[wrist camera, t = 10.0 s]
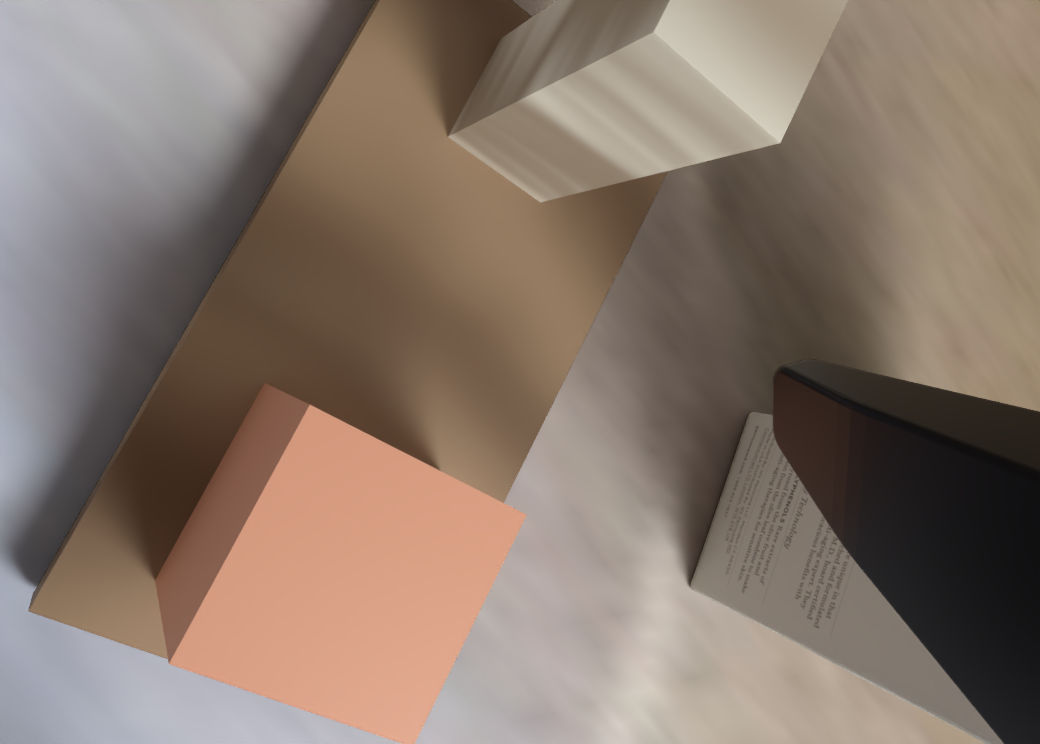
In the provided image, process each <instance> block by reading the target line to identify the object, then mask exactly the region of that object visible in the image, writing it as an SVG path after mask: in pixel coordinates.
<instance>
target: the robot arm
mask: <svg viewBox="0 0 1040 744" xmlns="http://www.w3.org/2000/svg"><path fill="white" fill-rule="evenodd" d="M773 433H774V437H775V440H776V442H777V445H778V447H779V448H780V450H781V452H782V453H783V455H784V456H785V458H786V459H787V461H788V463H789V464H790V466H791V467H792V469H793V470H794V472H795V473H796V475H797V477H798V478H799V480H800V481H801V483H802V484H803V486H804V487H805V489H806V491H807V492H808V494H809V495H810V497H811V498H812V500H813V501H814V503H815V505H816V506H817V508H818V509H819V511H820V512H821V514H822V515H823V517H824V519H825V520H826V522H827V523H828V525H829V526H830V528H831V529H832V531H833V532H834V534H835V535H836V537H837V538H838V540H839V541H840V542H841V544H842V545H843V547H844V548H845V549H846V550H847V552H848V553H849V554H850V556H851V557H852V558H853V560H854V561H855V562H856V563H857V565H858V566H859V567H860V568H861V569H862V571H863V572H864V573H865V574H866V576H867V577H868V578H869V579H870V580H871V582H872V583H873V584H874V585H875V587H876V588H877V589H878V590H879V592H880V593H881V594H882V595H883V596H884V598H885V599H886V600H887V601H888V603H889V604H890V605H891V606H892V607H893V609H894V610H895V611H896V612H897V614H898V615H899V616H900V617H901V619H902V620H903V621H904V622H905V623H906V625H907V626H908V627H909V628H910V630H911V631H912V632H913V633H914V634H915V636H916V637H917V638H918V639H919V641H920V642H921V643H922V644H923V646H924V647H925V648H926V649H927V650H928V652H929V653H930V654H931V655H932V657H933V658H934V659H935V660H936V661H937V663H938V664H939V665H940V666H941V668H942V669H943V670H944V671H945V673H946V674H947V675H948V676H949V677H950V679H951V680H952V681H953V682H954V684H955V685H956V686H957V687H958V688H959V690H960V691H961V692H962V693H963V695H964V696H965V697H966V698H967V700H968V701H969V702H970V703H971V704H972V706H973V707H974V708H975V709H976V711H977V712H978V713H979V714H980V715H981V717H982V718H983V719H984V720H985V722H986V723H987V724H988V725H989V727H990V728H991V729H992V730H993V731H994V733H995V734H996V735H997V736H998V738H999V739H1000V740H1001V741H1002V742H1003V744H1040V412H1039V411H1034V410H1030V409H1026V408H1021V407H1017V406H1013V405H1009V404H1004V403H1000V402H996V401H991V400H987V399H983V398H978V397H974V396H970V395H965V394H961V393H957V392H952V391H948V390H944V389H940V388H935V387H931V386H927V385H922V384H918V383H914V382H909V381H905V380H901V379H896V378H892V377H888V376H883V375H879V374H875V373H871V372H866V371H862V370H858V369H853V368H849V367H845V366H840V365H836V364H832V363H827V362H823V361H819V360H814V359H805V360H801V361H797V362H794V363H790V364H787V365H783V366H780V367H779V368H778V369H777V370H776V372H775V374H774V378H773Z"/></svg>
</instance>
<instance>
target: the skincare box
mask: <svg viewBox="0 0 1040 744" xmlns="http://www.w3.org/2000/svg"><path fill="white" fill-rule="evenodd" d="M691 589H692V590H694V591H695V592H697V593H699V594H701V595H703V596H705V597H707V598H709V599H711V600H713V601H715V602H717V603H719V604H721V605H723V606H725V607H727V608H729V609H731V610H733V611H735V612H737V613H739V614H741V615H743V616H745V617H747V618H749V619H751V620H753V621H754V622H756V623H758V624H760V625H762V626H764V627H766V628H768V629H770V630H772V631H774V632H776V633H777V634H779V635H781V636H783V637H785V638H787V639H789V640H791V641H793V642H794V643H796V644H798V645H800V646H802V647H804V648H806V649H808V650H809V651H811V652H813V653H815V654H817V655H819V656H821V657H823V658H825V659H826V660H828V661H830V662H832V663H834V664H836V665H838V666H840V667H841V668H843V669H845V670H847V671H849V672H851V673H853V674H855V675H856V676H858V677H860V678H862V679H864V680H866V681H868V682H870V683H872V684H874V685H875V686H877V687H879V688H881V689H883V690H885V691H887V692H889V693H891V694H893V695H895V696H897V697H899V698H900V699H902V700H904V701H906V702H908V703H910V704H912V705H914V706H916V707H918V708H920V709H922V710H923V711H925V712H927V713H929V714H931V715H933V716H935V717H937V718H939V719H941V720H943V721H945V722H947V723H948V724H950V725H952V726H954V727H956V728H958V729H960V730H962V731H964V732H965V733H967V734H969V735H971V736H973V737H975V738H977V739H978V740H980V741H982V742H984V743H986V744H1003V742H1002V741H1001V740H1000V739H999V738H998V736H997V735H996V734H995V733H994V731H993V730H992V729H991V728H990V727H989V725H988V724H987V723H986V722H985V720H984V719H983V718H982V717H981V715H980V714H979V713H978V712H977V711H976V709H975V708H974V707H973V706H972V704H971V703H970V702H969V701H968V700H967V698H966V697H965V696H964V695H963V693H962V692H961V691H960V690H959V688H958V687H957V686H956V685H955V684H954V682H953V681H952V680H951V679H950V677H949V676H948V675H947V674H946V673H945V671H944V670H943V669H942V668H941V666H940V665H939V664H938V663H937V661H936V660H935V659H934V658H933V657H932V655H931V654H930V653H929V652H928V650H927V649H926V648H925V647H924V646H923V644H922V643H921V642H920V641H919V639H918V638H917V637H916V636H915V634H914V633H913V632H912V631H911V630H910V628H909V627H908V626H907V625H906V623H905V622H904V621H903V620H902V619H901V617H900V616H899V615H898V614H897V612H896V611H895V610H894V609H893V607H892V606H891V605H890V604H889V603H888V601H887V600H886V599H885V598H884V596H883V595H882V594H881V593H880V592H879V590H878V589H877V588H876V587H875V585H874V584H873V583H872V582H871V580H870V579H869V578H868V577H867V576H866V574H865V573H864V572H863V571H862V569H861V568H860V567H859V566H858V565H857V563H856V562H855V561H854V560H853V558H852V557H851V556H850V554H849V553H848V552H847V550H846V549H845V548H844V547H843V545H842V544H841V542H840V541H839V540H838V538H837V537H836V535H835V534H834V532H833V531H832V529H831V528H830V526H829V525H828V523H827V522H826V520H825V519H824V517H823V515H822V514H821V512H820V511H819V509H818V508H817V506H816V505H815V503H814V501H813V500H812V498H811V497H810V495H809V494H808V492H807V491H806V489H805V487H804V486H803V484H802V483H801V481H800V480H799V478H798V477H797V475H796V473H795V472H794V470H793V469H792V467H791V466H790V464H789V463H788V461H787V459H786V458H785V456H784V455H783V453H782V452H781V450H780V448H779V447H778V445H777V442H776V440H775V437H774V433H773V415H770V414H764V413H758V412H751V413H750V414H749V416H748V418H747V421H746V424H745V427H744V430H743V433H742V436H741V439H740V442H739V445H738V448H737V450H736V453H735V456H734V459H733V462H732V465H731V468H730V471H729V474H728V477H727V480H726V483H725V486H724V489H723V492H722V495H721V498H720V501H719V503H718V506H717V509H716V512H715V515H714V518H713V521H712V524H711V527H710V530H709V532H708V535H707V538H706V541H705V544H704V547H703V550H702V553H701V556H700V559H699V562H698V565H697V568H696V570H695V573H694V576H693V579H692V582H691Z"/></svg>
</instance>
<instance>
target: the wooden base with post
mask: <svg viewBox="0 0 1040 744" xmlns="http://www.w3.org/2000/svg"><path fill="white" fill-rule="evenodd" d="M847 2H848V0H556V1H555V2H553V3H552V4H550V5H549V6H547V7H546V8H545V9H543V10H542V11H540V12H539V13H537V14H536V15H534V16H533V17H531V16H530V15H529V14H528V13H527V12H525V11H524V10H523V9H522V8H520V7H519V6H518V5H517V4H516V3H514V2H513V1H512V0H375V2H374V4H373V5H372V7H371V9H370V11H369V12H368V14H367V16H366V17H365V19H364V21H363V23H362V24H361V26H360V28H359V30H358V31H357V33H356V35H355V37H354V38H353V40H352V42H351V43H350V45H349V47H348V49H347V50H346V52H345V54H344V56H343V57H342V59H341V61H340V63H339V64H338V66H337V68H336V69H335V71H334V73H333V75H332V76H331V78H330V80H329V82H328V83H327V85H326V87H325V89H324V90H323V92H322V94H321V95H320V97H319V99H318V101H317V102H316V104H315V106H314V108H313V109H312V111H311V113H310V115H309V116H308V118H307V120H306V121H305V123H304V125H303V127H302V128H301V130H300V132H299V134H298V135H297V137H296V139H295V141H294V142H293V144H292V146H291V147H290V149H289V151H288V153H287V154H286V156H285V158H284V160H283V161H282V163H281V165H280V167H279V168H278V170H277V172H276V173H275V175H274V177H273V179H272V180H271V182H270V184H269V186H268V187H267V189H266V191H265V193H264V194H263V196H262V198H261V199H260V201H259V203H258V205H257V206H256V208H255V210H254V212H253V213H252V215H251V217H250V219H249V220H248V222H247V224H246V226H245V227H244V229H243V231H242V232H241V234H240V236H239V238H238V239H237V241H236V243H235V245H234V246H233V248H232V250H231V252H230V253H229V255H228V257H227V258H226V260H225V262H224V264H223V265H222V267H221V269H220V271H219V272H218V274H217V276H216V278H215V279H214V281H213V283H212V284H211V286H210V288H209V290H208V291H207V293H206V295H205V297H204V298H203V300H202V302H201V304H200V305H199V307H198V309H197V310H196V312H195V314H194V316H193V317H192V319H191V321H190V323H189V324H188V326H187V328H186V330H185V331H184V333H183V335H182V336H181V338H180V340H179V342H178V343H177V345H176V347H175V349H174V350H173V352H172V354H171V356H170V357H169V359H168V361H167V362H166V364H165V366H164V368H163V369H162V371H161V373H160V375H159V376H158V378H157V380H156V382H155V383H154V385H153V387H152V388H151V390H150V392H149V394H148V395H147V397H146V399H145V401H144V402H143V404H142V406H141V408H140V409H139V411H138V413H137V415H136V416H135V418H134V420H133V421H132V423H131V425H130V427H129V428H128V430H127V432H126V434H125V435H124V437H123V439H122V441H121V442H120V444H119V446H118V447H117V449H116V451H115V453H114V454H113V456H112V458H111V460H110V461H109V463H108V465H107V467H106V468H105V470H104V472H103V473H102V475H101V477H100V479H99V480H98V482H97V484H96V486H95V487H94V489H93V491H92V493H91V494H90V496H89V498H88V499H87V501H86V503H85V505H84V506H83V508H82V510H81V512H80V513H79V515H78V517H77V519H76V520H75V522H74V524H73V525H72V527H71V529H70V531H69V532H68V534H67V536H66V538H65V539H64V541H63V543H62V545H61V546H60V548H59V550H58V551H57V553H56V555H55V557H54V558H53V560H52V562H51V564H50V565H49V567H48V569H47V571H46V572H45V574H44V576H43V577H42V579H41V581H40V583H39V584H38V586H37V588H36V590H35V591H34V593H33V596H32V599H31V603H30V607H29V610H28V611H29V612H32V613H35V614H38V615H41V616H44V617H47V618H49V619H52V620H55V621H58V622H61V623H64V624H67V625H70V626H73V627H76V628H79V629H81V630H84V631H87V632H90V633H93V634H96V635H99V636H102V637H105V638H108V639H111V640H114V641H116V642H119V643H122V644H125V645H128V646H131V647H134V648H137V649H140V650H143V651H146V652H148V653H151V654H154V655H157V656H160V657H163V658H166V659H168V655H167V649H166V643H165V637H164V631H163V625H162V619H161V613H160V607H159V601H158V595H157V589H156V583H155V579H156V578H157V576H158V574H159V572H160V570H161V569H162V567H163V565H164V563H165V561H166V560H167V558H168V556H169V554H170V552H171V551H172V549H173V547H174V545H175V543H176V542H177V540H178V538H179V536H180V534H181V533H182V531H183V529H184V527H185V525H186V524H187V522H188V520H189V518H190V516H191V515H192V513H193V511H194V509H195V507H196V506H197V504H198V502H199V500H200V498H201V497H202V495H203V493H204V491H205V489H206V488H207V486H208V484H209V482H210V480H211V479H212V477H213V475H214V473H215V471H216V470H217V468H218V466H219V464H220V462H221V461H222V459H223V457H224V455H225V453H226V452H227V450H228V448H229V446H230V444H231V443H232V441H233V439H234V437H235V435H236V434H237V432H238V430H239V428H240V426H241V424H242V423H243V421H244V419H245V417H246V415H247V414H248V412H249V410H250V408H251V406H252V405H253V403H254V401H255V399H256V397H257V396H258V394H259V392H260V390H261V388H262V387H263V385H264V383H266V384H268V385H270V386H272V387H274V388H276V389H278V390H280V391H283V392H285V393H287V394H289V395H291V396H293V397H295V398H297V399H299V400H301V401H303V402H306V403H308V404H310V405H312V406H314V407H316V408H318V409H320V410H322V411H323V412H325V413H327V414H329V415H331V416H333V417H335V418H337V419H339V420H341V421H343V422H345V423H347V424H349V425H351V426H353V427H355V428H357V429H359V430H361V431H363V432H365V433H367V434H369V435H371V436H373V437H375V438H377V439H379V440H380V441H382V442H384V443H386V444H388V445H390V446H392V447H394V448H396V449H398V450H400V451H402V452H404V453H406V454H408V455H410V456H412V457H414V458H416V459H418V460H420V461H422V462H424V463H426V464H428V465H430V466H432V467H434V468H436V469H438V470H439V471H441V472H443V473H445V474H447V475H449V476H451V477H453V478H455V479H457V480H459V481H461V482H463V483H465V484H467V485H469V486H471V487H473V488H475V489H477V490H479V491H481V492H483V493H485V494H487V495H489V496H491V497H493V498H495V499H497V500H498V501H500V502H502V503H504V501H505V499H506V497H507V495H508V493H509V491H510V489H511V487H512V485H513V483H514V481H515V479H516V477H517V475H518V473H519V471H520V469H521V467H522V464H523V462H524V460H525V458H526V456H527V454H528V452H529V450H530V448H531V446H532V444H533V442H534V440H535V438H536V436H537V434H538V432H539V430H540V428H541V426H542V424H543V422H544V420H545V418H546V416H547V414H548V412H549V410H550V408H551V406H552V404H553V402H554V400H555V398H556V396H557V394H558V392H559V390H560V388H561V386H562V384H563V382H564V380H565V378H566V376H567V374H568V372H569V370H570V368H571V366H572V364H573V362H574V360H575V358H576V356H577V354H578V352H579V350H580V348H581V346H582V344H583V342H584V339H585V337H586V335H587V333H588V331H589V329H590V327H591V325H592V323H593V321H594V319H595V317H596V315H597V313H598V311H599V309H600V307H601V305H602V303H603V301H604V299H605V297H606V295H607V293H608V291H609V289H610V287H611V285H612V283H613V281H614V279H615V277H616V275H617V273H618V271H619V269H620V267H621V265H622V263H623V261H624V259H625V257H626V255H627V253H628V251H629V249H630V247H631V245H632V243H633V241H634V239H635V237H636V235H637V233H638V231H639V229H640V227H641V225H642V223H643V221H644V219H645V216H646V214H647V212H648V210H649V208H650V206H651V204H652V202H653V200H654V198H655V196H656V194H657V192H658V190H659V188H660V186H661V184H662V182H663V180H664V178H665V176H666V174H667V172H668V171H669V170H674V169H678V168H682V167H686V166H690V165H694V164H698V163H702V162H706V161H710V160H714V159H718V158H722V157H726V156H730V155H734V154H738V153H742V152H746V151H750V150H755V149H759V148H763V147H767V146H771V145H775V144H779V143H781V141H782V138H783V136H784V134H785V132H786V130H787V128H788V126H789V124H790V122H791V120H792V117H793V115H794V113H795V111H796V109H797V107H798V105H799V103H800V101H801V99H802V96H803V94H804V92H805V90H806V88H807V86H808V84H809V82H810V80H811V77H812V75H813V73H814V71H815V69H816V67H817V65H818V63H819V61H820V59H821V56H822V54H823V52H824V50H825V48H826V46H827V44H828V42H829V40H830V38H831V35H832V33H833V31H834V29H835V27H836V25H837V23H838V21H839V19H840V17H841V14H842V12H843V10H844V8H845V6H846V4H847Z"/></svg>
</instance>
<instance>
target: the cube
mask: <svg viewBox="0 0 1040 744" xmlns="http://www.w3.org/2000/svg"><path fill="white" fill-rule="evenodd" d="M525 517H526V514H524V513H522V512H520V511H518V510H516V509H514V508H512V507H510V506H508V505H506V504H504V503H502V502H500V501H498V500H497V499H495V498H493V497H491V496H489V495H487V494H485V493H483V492H481V491H479V490H477V489H475V488H473V487H471V486H469V485H467V484H465V483H463V482H461V481H459V480H457V479H455V478H453V477H451V476H449V475H447V474H445V473H443V472H441V471H439V470H438V469H436V468H434V467H432V466H430V465H428V464H426V463H424V462H422V461H420V460H418V459H416V458H414V457H412V456H410V455H408V454H406V453H404V452H402V451H400V450H398V449H396V448H394V447H392V446H390V445H388V444H386V443H384V442H382V441H380V440H379V439H377V438H375V437H373V436H371V435H369V434H367V433H365V432H363V431H361V430H359V429H357V428H355V427H353V426H351V425H349V424H347V423H345V422H343V421H341V420H339V419H337V418H335V417H333V416H331V415H329V414H327V413H325V412H323V411H322V410H320V409H318V408H316V407H314V406H312V405H310V404H308V403H306V402H303V401H301V400H299V399H297V398H295V397H293V396H291V395H289V394H287V393H285V392H283V391H280V390H278V389H276V388H274V387H272V386H270V385H268V384H266V383H264V385H263V387H262V388H261V390H260V392H259V394H258V396H257V397H256V399H255V401H254V403H253V405H252V406H251V408H250V410H249V412H248V414H247V415H246V417H245V419H244V421H243V423H242V424H241V426H240V428H239V430H238V432H237V434H236V435H235V437H234V439H233V441H232V443H231V444H230V446H229V448H228V450H227V452H226V453H225V455H224V457H223V459H222V461H221V462H220V464H219V466H218V468H217V470H216V471H215V473H214V475H213V477H212V479H211V480H210V482H209V484H208V486H207V488H206V489H205V491H204V493H203V495H202V497H201V498H200V500H199V502H198V504H197V506H196V507H195V509H194V511H193V513H192V515H191V516H190V518H189V520H188V522H187V524H186V525H185V527H184V529H183V531H182V533H181V534H180V536H179V538H178V540H177V542H176V543H175V545H174V547H173V549H172V551H171V552H170V554H169V556H168V558H167V560H166V561H165V563H164V565H163V567H162V569H161V570H160V572H159V574H158V576H157V578H156V579H155V583H156V589H157V595H158V601H159V607H160V613H161V619H162V625H163V631H164V637H165V643H166V649H167V655H168V661H169V664H171V665H173V666H176V667H179V668H182V669H185V670H188V671H191V672H194V673H197V674H200V675H203V676H206V677H209V678H212V679H215V680H217V681H220V682H223V683H226V684H229V685H232V686H235V687H238V688H241V689H244V690H247V691H250V692H253V693H256V694H259V695H261V696H264V697H267V698H270V699H273V700H276V701H279V702H282V703H285V704H288V705H291V706H294V707H297V708H300V709H303V710H305V711H308V712H311V713H314V714H317V715H320V716H323V717H326V718H329V719H332V720H335V721H338V722H341V723H344V724H346V725H349V726H352V727H355V728H358V729H361V730H364V731H367V732H370V733H373V734H376V735H379V736H382V737H385V738H388V739H390V740H393V741H396V742H399V743H402V744H415V742H416V740H417V738H418V736H419V733H420V731H421V729H422V727H423V725H424V723H425V721H426V719H427V717H428V715H429V713H430V711H431V709H432V707H433V705H434V703H435V701H436V699H437V697H438V695H439V693H440V691H441V689H442V687H443V685H444V683H445V680H446V678H447V676H448V674H449V672H450V670H451V668H452V666H453V664H454V662H455V660H456V658H457V656H458V654H459V652H460V650H461V648H462V646H463V644H464V642H465V640H466V638H467V636H468V634H469V632H470V629H471V627H472V625H473V623H474V621H475V619H476V617H477V615H478V613H479V611H480V609H481V607H482V605H483V603H484V601H485V599H486V597H487V595H488V593H489V591H490V589H491V587H492V585H493V583H494V581H495V579H496V576H497V574H498V572H499V570H500V568H501V566H502V564H503V562H504V560H505V558H506V556H507V554H508V552H509V550H510V548H511V546H512V544H513V542H514V540H515V538H516V536H517V534H518V532H519V530H520V528H521V525H522V523H523V521H524V519H525Z"/></svg>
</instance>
